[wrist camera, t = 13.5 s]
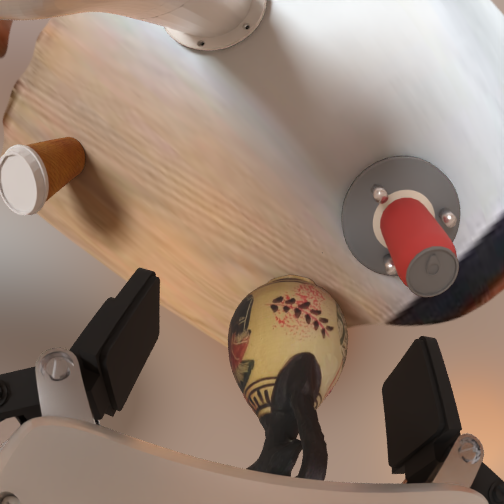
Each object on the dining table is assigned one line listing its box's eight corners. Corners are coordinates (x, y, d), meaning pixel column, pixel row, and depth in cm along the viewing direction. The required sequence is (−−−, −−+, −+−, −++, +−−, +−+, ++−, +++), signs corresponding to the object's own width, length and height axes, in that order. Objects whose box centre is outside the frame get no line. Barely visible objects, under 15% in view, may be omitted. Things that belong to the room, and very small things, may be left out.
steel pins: (373, 181, 35) (377, 188, 33) (451, 209, 35) (458, 217, 33) (347, 253, 41) (348, 263, 38) (421, 274, 40) (425, 284, 38)
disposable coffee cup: (89, 121, 39) (30, 142, 28) (98, 184, 43) (47, 218, 33) (44, 131, 40) (-12, 153, 30) (55, 187, 45) (4, 219, 35)
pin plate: (363, 138, 35) (365, 140, 33) (472, 180, 34) (477, 184, 32) (325, 253, 43) (326, 259, 41) (426, 281, 42) (429, 287, 41)
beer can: (426, 191, 35) (465, 236, 24) (428, 239, 37) (461, 295, 27) (375, 200, 36) (399, 249, 26) (381, 248, 39) (401, 307, 29)
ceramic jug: (302, 351, 53) (282, 525, 27) (223, 307, 50) (157, 486, 25) (373, 287, 44) (403, 493, 19) (286, 227, 42) (242, 450, 16)
